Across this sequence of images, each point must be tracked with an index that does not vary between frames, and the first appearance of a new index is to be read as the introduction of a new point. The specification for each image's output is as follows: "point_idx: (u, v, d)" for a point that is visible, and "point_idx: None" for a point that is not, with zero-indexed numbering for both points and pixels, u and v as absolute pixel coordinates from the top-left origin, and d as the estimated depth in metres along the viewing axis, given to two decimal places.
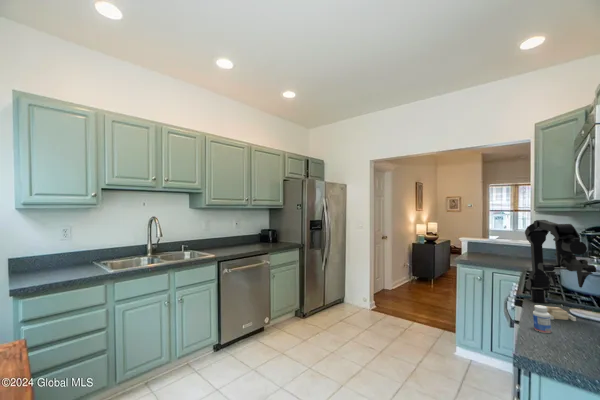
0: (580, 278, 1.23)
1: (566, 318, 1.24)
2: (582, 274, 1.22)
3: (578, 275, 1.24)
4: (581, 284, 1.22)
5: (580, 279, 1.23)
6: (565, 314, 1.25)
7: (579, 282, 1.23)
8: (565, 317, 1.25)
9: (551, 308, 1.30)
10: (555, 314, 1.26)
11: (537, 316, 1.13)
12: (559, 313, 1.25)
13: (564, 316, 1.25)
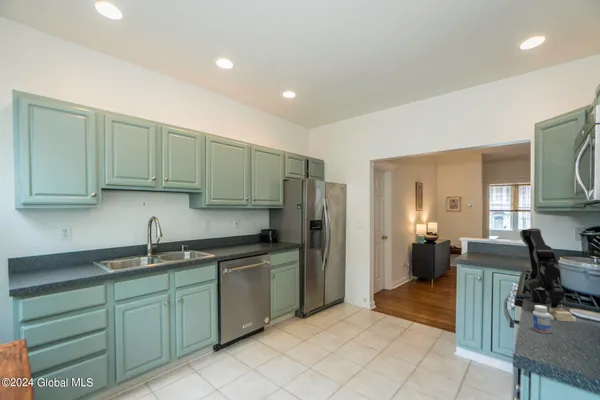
0: None
1: (570, 319, 1.22)
2: None
3: None
4: (551, 306, 1.31)
5: None
6: (569, 315, 1.23)
7: None
8: (569, 318, 1.23)
9: (554, 309, 1.28)
10: (559, 315, 1.24)
11: (537, 316, 1.13)
12: (563, 314, 1.23)
13: (568, 317, 1.23)
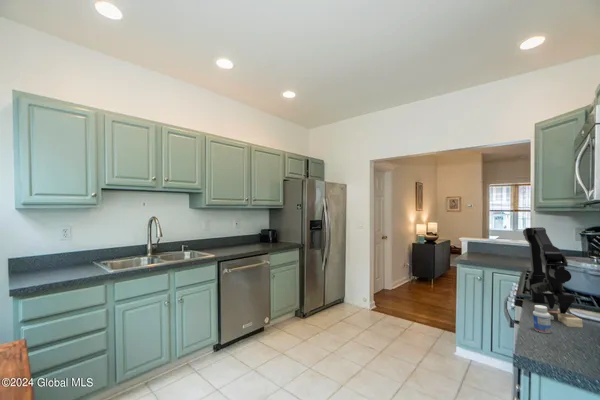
0: None
1: (580, 326, 1.16)
2: None
3: None
4: (560, 311, 1.24)
5: None
6: (579, 322, 1.16)
7: None
8: (579, 325, 1.16)
9: (564, 315, 1.21)
10: (568, 322, 1.17)
11: (537, 316, 1.13)
12: (573, 321, 1.17)
13: (578, 324, 1.16)
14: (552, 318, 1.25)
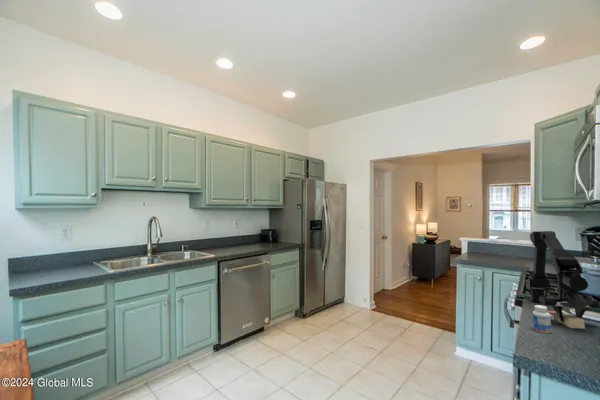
0: (578, 313, 1.18)
1: (582, 326, 1.15)
2: (580, 309, 1.17)
3: (576, 309, 1.19)
4: None
5: (577, 314, 1.18)
6: (581, 322, 1.15)
7: None
8: (581, 325, 1.15)
9: (565, 315, 1.20)
10: (571, 322, 1.15)
11: (536, 316, 1.13)
12: (575, 321, 1.15)
13: (580, 324, 1.15)
14: (552, 318, 1.25)
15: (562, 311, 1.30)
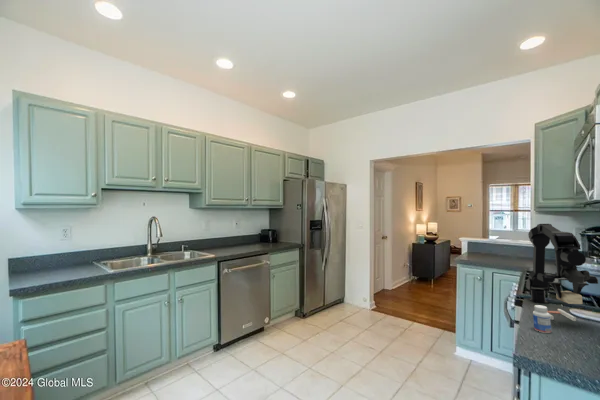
0: (576, 289, 1.19)
1: (580, 302, 1.15)
2: (578, 285, 1.18)
3: (574, 286, 1.20)
4: None
5: (575, 290, 1.19)
6: (579, 297, 1.15)
7: None
8: (579, 301, 1.15)
9: (562, 292, 1.20)
10: (569, 298, 1.16)
11: (537, 316, 1.13)
12: (573, 297, 1.16)
13: (578, 300, 1.15)
14: (552, 318, 1.25)
15: (562, 311, 1.30)
